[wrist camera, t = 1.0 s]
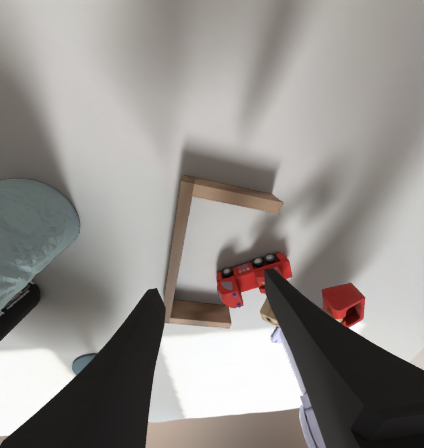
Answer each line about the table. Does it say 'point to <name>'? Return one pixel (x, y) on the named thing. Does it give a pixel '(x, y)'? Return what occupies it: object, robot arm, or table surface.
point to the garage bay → (189, 187)
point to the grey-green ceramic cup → (31, 231)
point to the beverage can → (18, 308)
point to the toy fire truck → (254, 277)
